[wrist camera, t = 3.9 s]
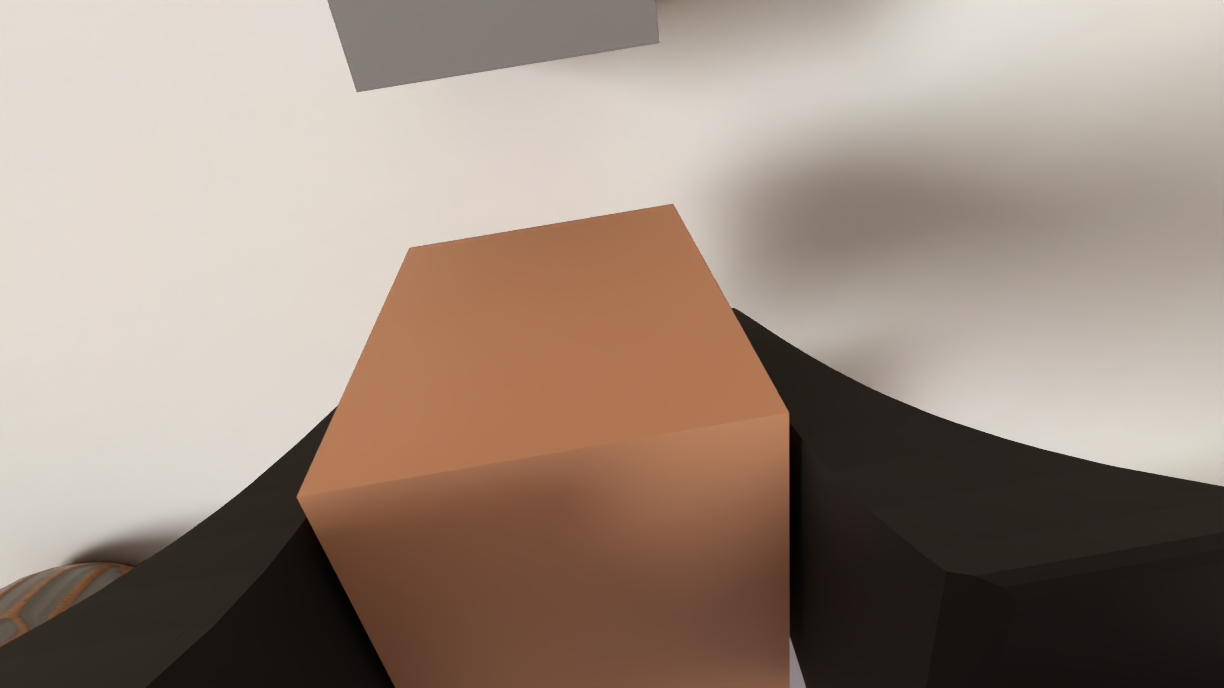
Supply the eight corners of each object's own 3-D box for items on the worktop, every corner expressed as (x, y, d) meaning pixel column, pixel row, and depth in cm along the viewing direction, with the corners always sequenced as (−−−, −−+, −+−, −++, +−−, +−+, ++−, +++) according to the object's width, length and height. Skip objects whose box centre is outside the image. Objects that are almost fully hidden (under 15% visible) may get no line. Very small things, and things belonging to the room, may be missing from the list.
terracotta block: (693, 415, 13) (789, 699, 8) (474, 453, 13) (433, 762, 8) (673, 203, 11) (789, 412, 6) (409, 248, 11) (297, 497, 6)
